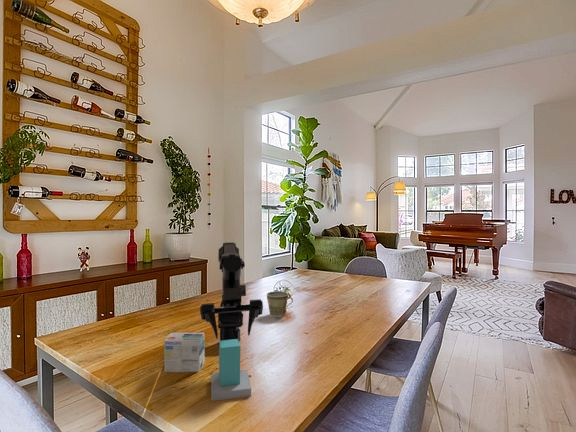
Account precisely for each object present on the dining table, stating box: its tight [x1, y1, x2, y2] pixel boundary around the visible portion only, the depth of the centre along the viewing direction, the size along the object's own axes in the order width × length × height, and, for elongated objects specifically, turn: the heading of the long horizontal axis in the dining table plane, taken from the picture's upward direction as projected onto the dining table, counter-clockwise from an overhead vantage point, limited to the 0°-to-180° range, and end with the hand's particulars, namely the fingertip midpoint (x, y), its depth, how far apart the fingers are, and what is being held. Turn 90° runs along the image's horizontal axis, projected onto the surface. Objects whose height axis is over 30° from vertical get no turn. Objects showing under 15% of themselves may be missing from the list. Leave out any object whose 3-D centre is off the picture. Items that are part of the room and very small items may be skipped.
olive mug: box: [266, 290, 294, 319], centre depth 152 cm, size 13×10×10 cm
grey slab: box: [210, 369, 252, 402], centre depth 88 cm, size 10×10×2 cm
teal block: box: [218, 339, 241, 386], centre depth 88 cm, size 5×5×10 cm
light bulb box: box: [163, 331, 205, 373], centre depth 100 cm, size 11×7×11 cm, turn 92°
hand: (232, 336), depth 96 cm, fingers open, 9 cm apart
